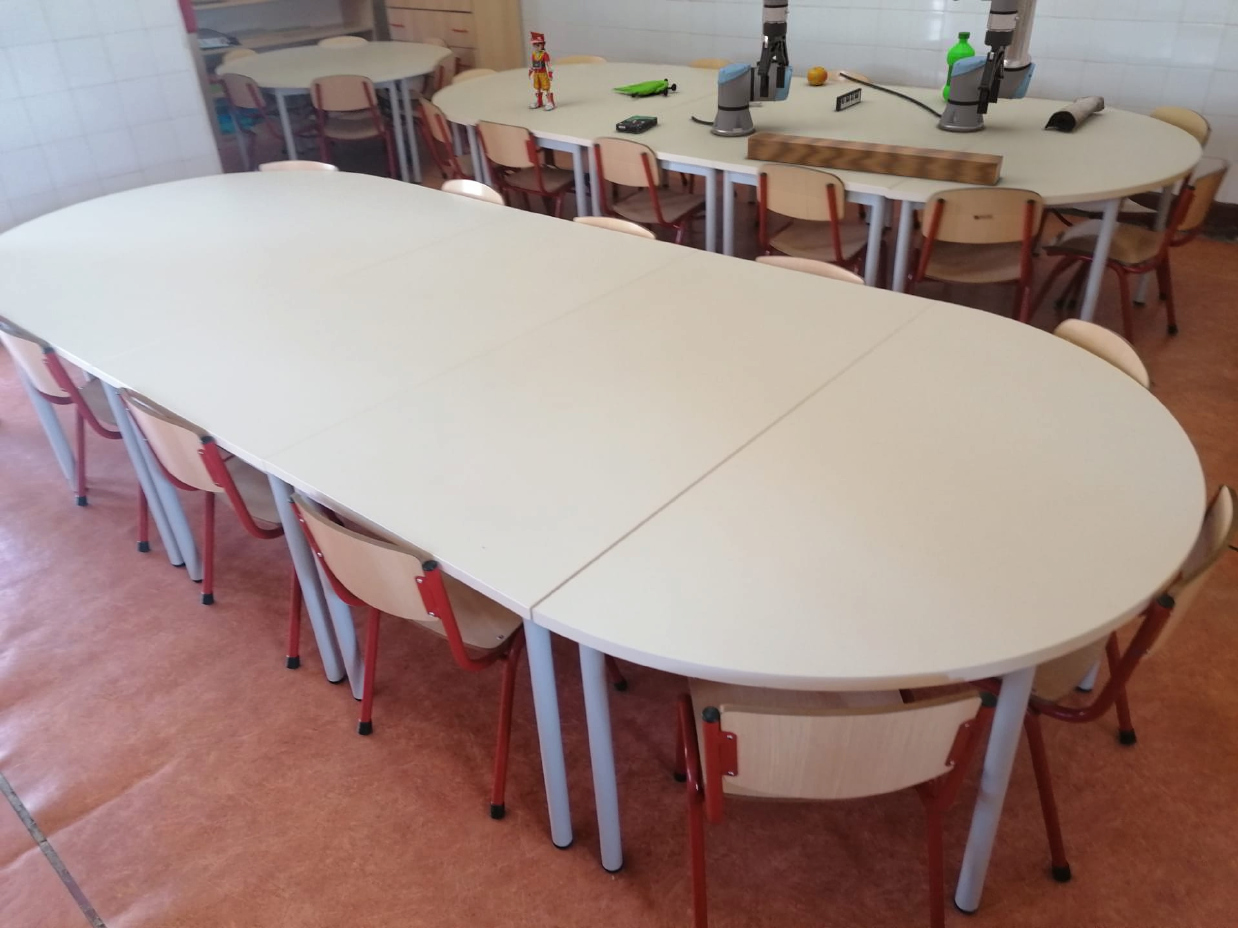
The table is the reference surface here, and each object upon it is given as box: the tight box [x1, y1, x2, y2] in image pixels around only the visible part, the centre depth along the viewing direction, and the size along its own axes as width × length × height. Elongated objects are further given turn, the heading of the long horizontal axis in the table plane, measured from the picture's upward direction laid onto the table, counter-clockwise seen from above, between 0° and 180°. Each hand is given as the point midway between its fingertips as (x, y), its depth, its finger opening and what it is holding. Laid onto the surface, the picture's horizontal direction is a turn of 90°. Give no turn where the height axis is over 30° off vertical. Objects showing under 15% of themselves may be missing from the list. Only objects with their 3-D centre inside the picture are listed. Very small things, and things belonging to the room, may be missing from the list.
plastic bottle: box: [942, 31, 976, 103], centre depth 348 cm, size 10×10×25 cm
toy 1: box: [527, 31, 556, 111], centre depth 374 cm, size 12×9×30 cm
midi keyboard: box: [835, 87, 863, 112], centre depth 357 cm, size 18×1×5 cm, turn 138°
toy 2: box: [612, 78, 677, 99], centre depth 396 cm, size 28×5×30 cm
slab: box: [747, 131, 1004, 186], centre depth 291 cm, size 81×8×7 cm, turn 59°
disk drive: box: [615, 114, 658, 134], centre depth 347 cm, size 10×3×15 cm
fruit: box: [806, 66, 829, 86], centre depth 389 cm, size 8×8×8 cm
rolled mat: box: [1044, 95, 1106, 133], centre depth 322 cm, size 30×9×10 cm
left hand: (772, 92), depth 295 cm, fingers open, 13 cm apart
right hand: (986, 108), depth 265 cm, fingers open, 13 cm apart
